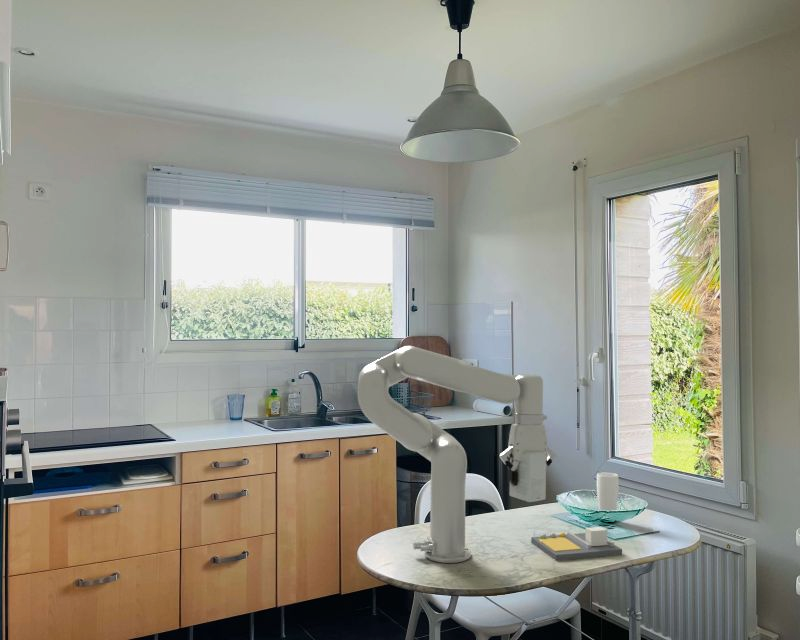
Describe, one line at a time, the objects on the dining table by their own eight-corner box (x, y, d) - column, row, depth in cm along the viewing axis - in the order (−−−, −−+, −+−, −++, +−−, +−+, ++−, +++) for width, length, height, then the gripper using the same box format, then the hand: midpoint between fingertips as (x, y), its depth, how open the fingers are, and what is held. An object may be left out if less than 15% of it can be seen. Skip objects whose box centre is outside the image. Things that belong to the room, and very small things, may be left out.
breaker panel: (555, 560, 177) (555, 551, 177) (531, 542, 192) (531, 533, 192) (622, 554, 182) (622, 545, 182) (593, 537, 197) (593, 528, 197)
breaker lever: (591, 546, 184) (591, 531, 184) (585, 542, 187) (585, 527, 187) (607, 545, 185) (607, 529, 185) (601, 541, 188) (601, 526, 188)
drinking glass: (610, 517, 217) (610, 471, 217) (622, 523, 211) (623, 476, 211) (592, 518, 215) (592, 472, 215) (604, 525, 209) (604, 477, 209)
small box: (546, 499, 181) (547, 452, 181) (528, 502, 177) (529, 454, 177) (525, 493, 188) (526, 447, 188) (508, 495, 184) (509, 449, 184)
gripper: (551, 417, 188) (550, 479, 188) (493, 418, 184) (492, 481, 184) (563, 421, 181) (562, 485, 181) (504, 422, 177) (503, 488, 177)
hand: (527, 483), depth 182 cm, fingers closed on small box, 7 cm apart
